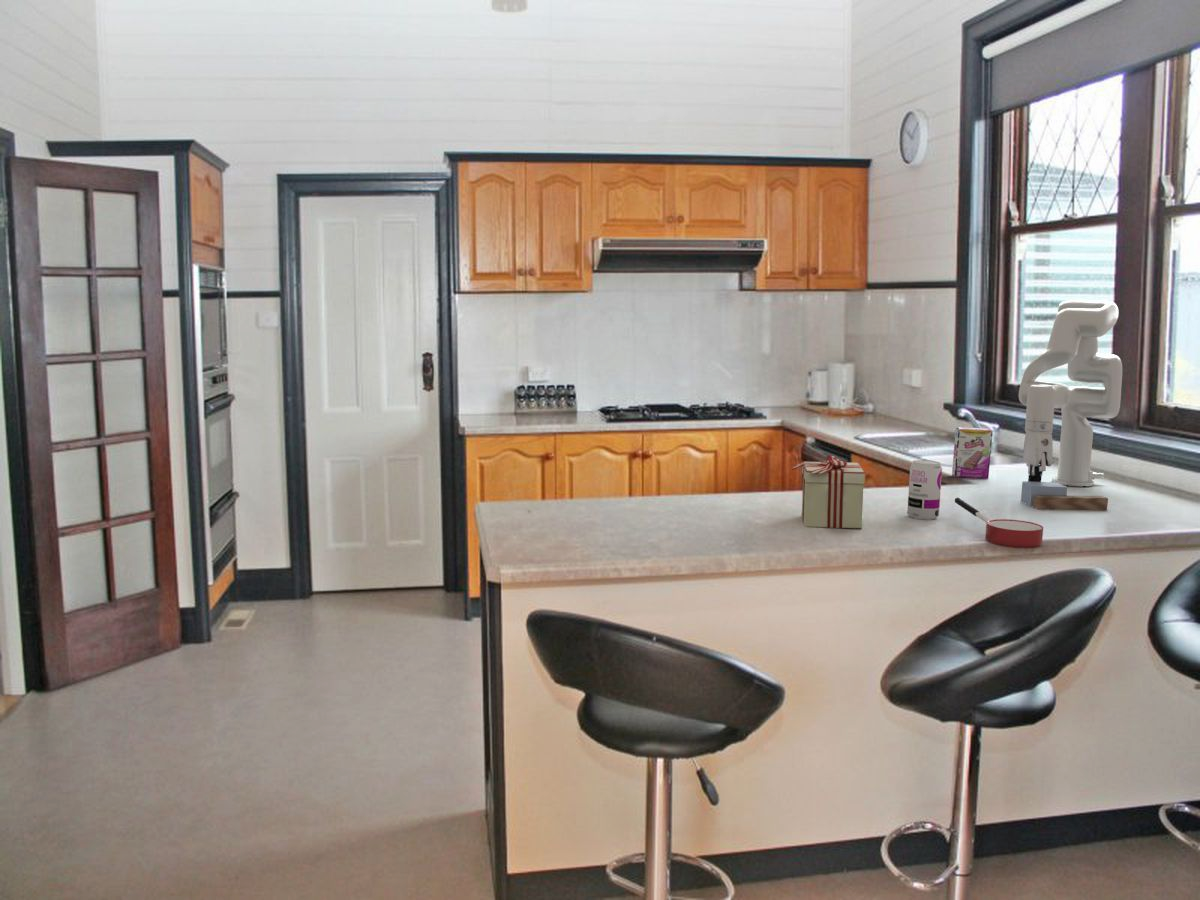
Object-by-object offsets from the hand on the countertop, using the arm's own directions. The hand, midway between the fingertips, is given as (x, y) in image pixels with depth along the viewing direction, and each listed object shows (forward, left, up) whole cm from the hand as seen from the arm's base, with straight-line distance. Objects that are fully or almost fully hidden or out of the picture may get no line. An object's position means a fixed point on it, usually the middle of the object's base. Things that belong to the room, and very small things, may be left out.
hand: (1034, 488), depth 323 cm
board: (-5, +12, -4) cm, 14 cm away
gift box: (+72, +36, -4) cm, 80 cm away
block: (0, +6, -4) cm, 7 cm away
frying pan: (+33, +47, -4) cm, 57 cm away
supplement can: (+43, +27, -4) cm, 51 cm away
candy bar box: (+3, -40, -4) cm, 40 cm away
